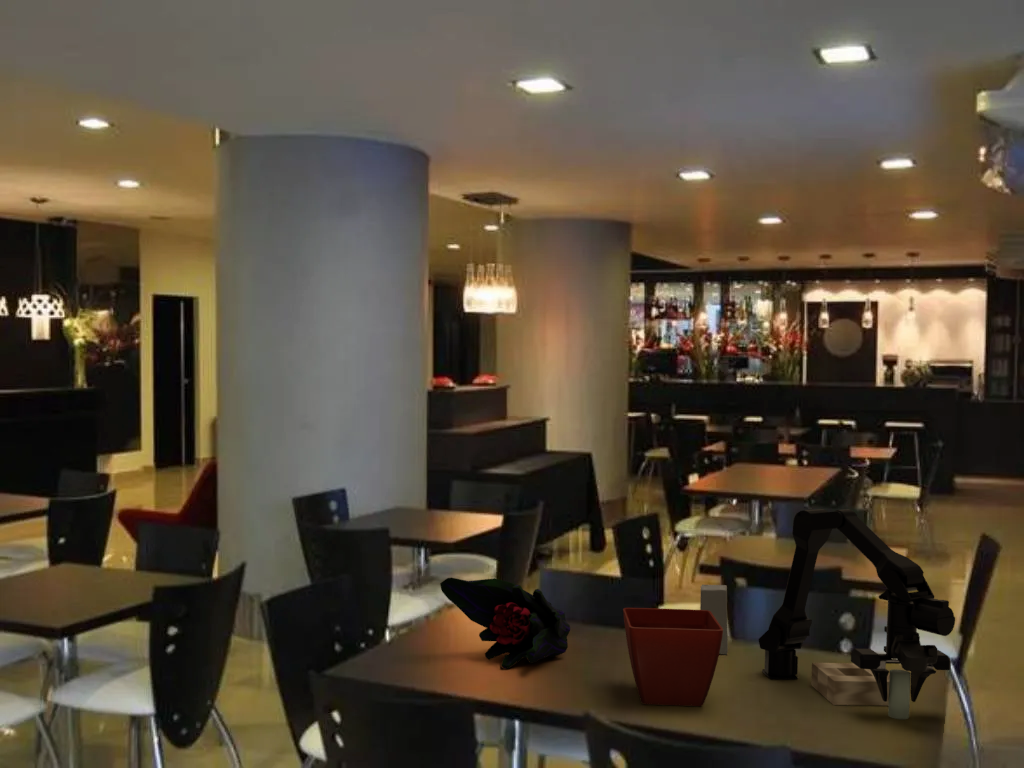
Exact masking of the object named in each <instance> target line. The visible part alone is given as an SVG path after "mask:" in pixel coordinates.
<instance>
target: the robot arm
mask: <svg viewBox="0 0 1024 768" xmlns="http://www.w3.org/2000/svg"><path fill="white" fill-rule="evenodd" d="M833 529H837V530H838V531H839V532H840V533H841V534H842V535H843V536H844V537H845V538H846V539H847V540H848V541H849V542H850V543H851V544H852V545H853V546H855V548H856V549H857V550H858V551H860V553H861V554H862V555H863V556H864V557H865V558H867V560H869V562H870V563H871V564H872V565H873V566H874V568H875V571H876V575H877V577H878V579H880V581H881V582H882V584H883V585H884V586H885V588H886V589H885V591H883V592H881V594H880V595H878V599H879V600H883V601H887V613H886V615H887V616H886V617H887V618H886V626H884V632H885V633H886V639H885V640H886V641H885V642H886V644H885V646H884V645H883V652H884V653H877V652H876V651H874V650H873V649H872V648H854V649H853V650H852V651H851V652H850V663H854V664H855V665H856V666H858V667H859V668H861V669H870V670H871V671H872V673H873V675H874V677H875V680H876V682H877V685H878V688H879V691H880V693H881V696H882V699H883V701H884V702H886V701H887V676H888V674H889V675H890V670H888V669H887V668H886V665H887V664H890V665H891V664H893V665H894V664H897V665H899V664H900V665H901V668H902V670H905V671H908V672H910V673H911V674H910V700H911V702H912V703H916V701H917V699H918V697H919V694H920V692H921V691H922V687H923V685H924V683H925V681H926V680H927V679H928V677H930V676H931V675H936V674H937V671H951V670H952V669H951V668H952V667H951V666H952V661H951V658H950V656H949V655H947V654H946V653H944V652H943V651H941V650H939V649H938V648H937V645H935V644H922V643H921V641H920V638H921V636H920V633H919V632H917V630H919V631H923V632H927V633H931V634H935V635H938V636H943V637H947V636H949V635H951V634H952V632H953V629H954V627H955V624H956V617H955V614H954V612H953V611H954V610H952V608H951V607H950V601H948V600H946V599H938V598H935V595H934V593H933V591H932V589H931V587H930V586H929V584H928V582H927V580H926V578H925V577H924V571H923V569H922V567H921V566H920V565H919V564H918V563H916V562H915V561H913V560H912V559H910V558H908V557H907V556H905V555H903V554H900V553H898V552H896V551H894V550H893V549H891V548H890V546H889V545H888V544H886V543H885V542H884V540H882V539H881V538H880V537H879V536H878V535H877V534H876V533H875V532H874V531H873V530H872V529H871V528H869V526H868V525H867V524H866V523H865V522H863V521H862V519H861V518H859V517H858V515H857V513H856V511H854V510H852V509H848V508H846V509H836V510H834V511H828V510H826V509H823V508H819V509H805V510H803V509H802V510H800V511H798V512H796V513H795V514H794V517H793V521H792V533H791V534H792V538H793V540H794V543H795V550H794V553H793V558H792V563H791V567H790V572H789V574H788V578H787V583H786V588H785V591H784V597H783V600H782V603H781V606H779V608H778V609H777V610H776V612H775V613H774V614H773V615H772V618H771V620H770V623H769V626H768V629H767V630H766V631H765V632H764V633H763V634H762V635H761V636H760V637H759V638H758V644H759V648H760V649H761V650H764V668H762V669H761V672H762V673H763V674H764V675H765V676H766V677H767V678H769V679H770V680H798V677H799V676H797V675H798V670H799V669H798V668H799V667H798V666H799V657H798V656H797V650H801V649H802V646H803V643H804V642H805V641H806V639H807V637H809V636H810V635H811V634H810V629H811V626H812V625H813V621H812V619H811V618H809V617H808V615H807V612H806V606H807V602H808V601H807V600H808V597H809V592H810V588H811V583H812V581H813V576H814V572H815V567H816V563H817V560H818V559H817V558H818V555H819V551H820V550H821V548H822V547H823V546H824V545H825V544H826V542H828V541H829V538H830V535H831V533H832V531H833Z"/></svg>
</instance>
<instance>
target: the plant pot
mask: <svg viewBox="0 0 1024 768" xmlns="http://www.w3.org/2000/svg"><path fill="white" fill-rule="evenodd" d="M622 611H623V621H624V631H625V637H626V644H627V645H626V646H627V650H628V656H629V661H630V666H631V670H632V675H633V680H634V683H635V686H636V689H637V693H638V697H639V699H640V700H639V701H640V703H641V704H643V705H657V706H658V705H659V706H660V705H661V706H685V707H686V706H687V707H702V706H703V705H704V704H705V702H706V699H707V696H708V694H709V691H710V689H711V686H712V683H713V679H714V675H715V672H716V668H717V664H718V661H719V655H720V654H719V652H720V647H721V641H722V635H723V628H722V627H721V626H720V624H719V623H718V621H717V620H716V619H715V617H714V616H713V614H712V613H711V611H708V610H700V609H690V608H689V609H688V608H687V609H686V608H684V609H683V608H661V607H660V608H657V607H656V608H654V607H650V608H649V607H624V608H623V609H622Z"/></svg>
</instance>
